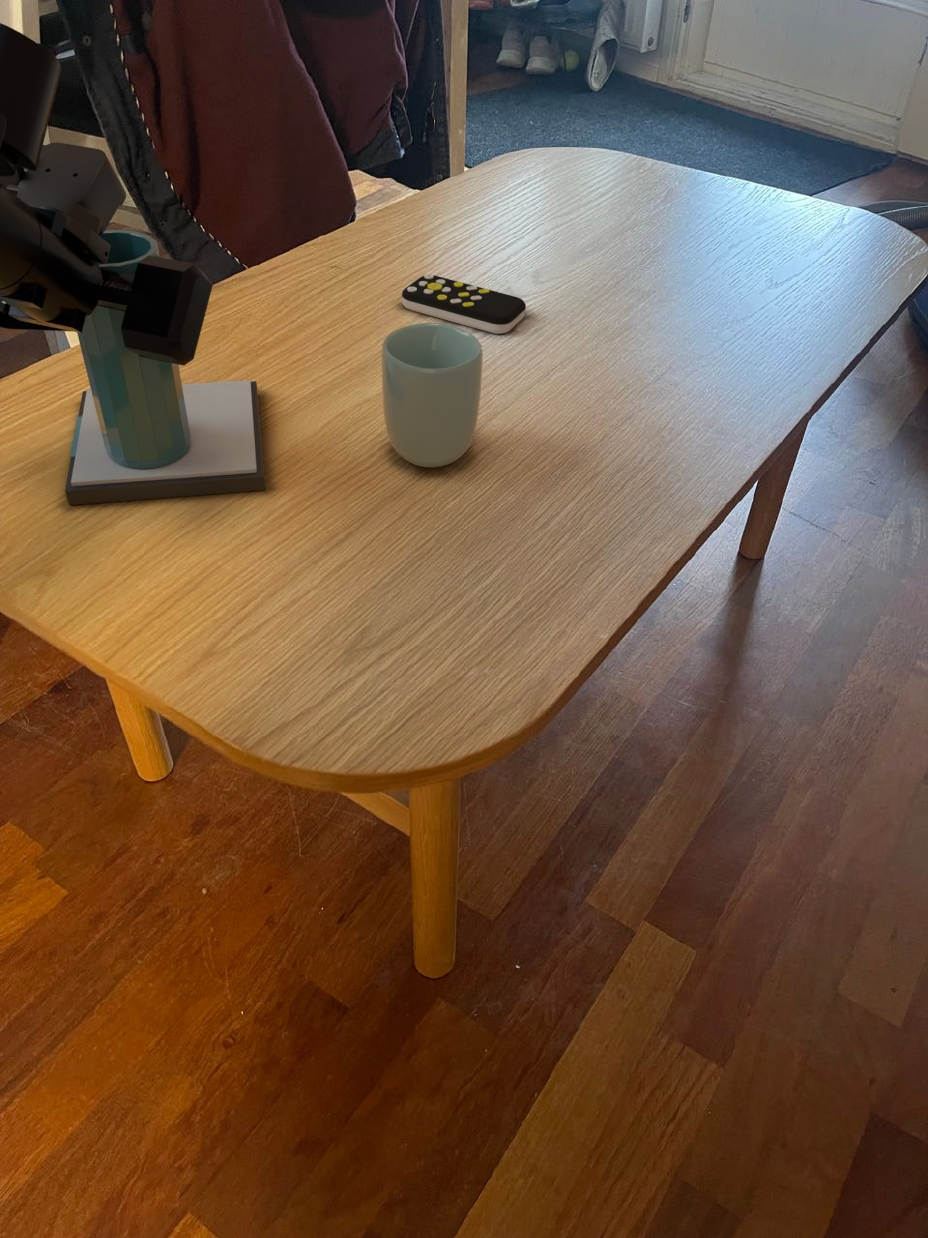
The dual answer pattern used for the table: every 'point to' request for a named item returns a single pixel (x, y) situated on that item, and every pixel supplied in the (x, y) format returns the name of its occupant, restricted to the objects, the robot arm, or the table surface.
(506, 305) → the remote control
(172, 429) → the tumbler
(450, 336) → the cup
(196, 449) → the scale
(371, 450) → the table surface
